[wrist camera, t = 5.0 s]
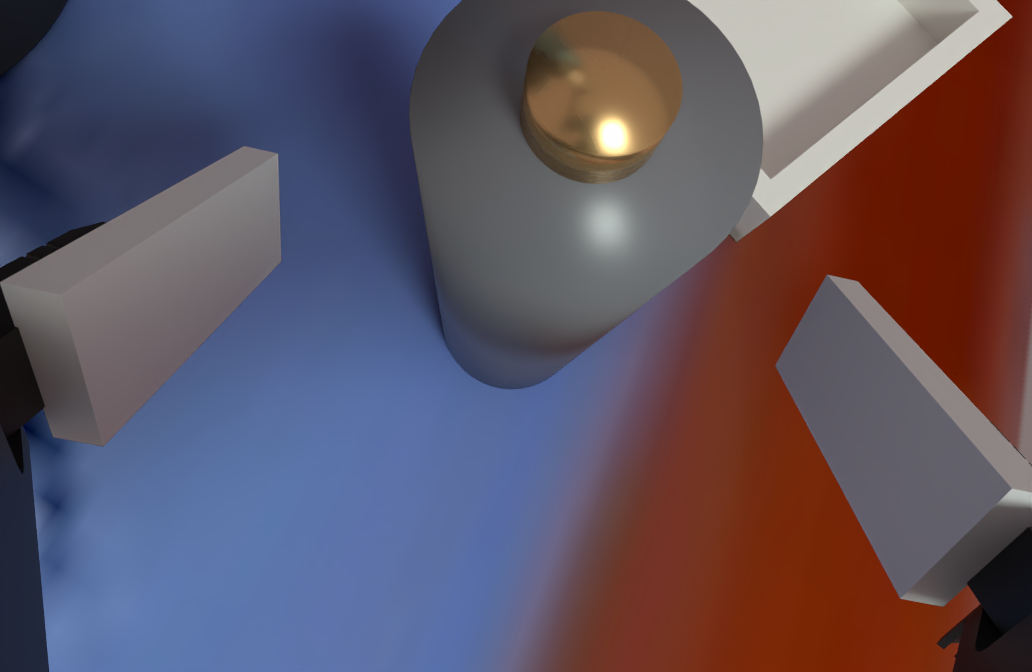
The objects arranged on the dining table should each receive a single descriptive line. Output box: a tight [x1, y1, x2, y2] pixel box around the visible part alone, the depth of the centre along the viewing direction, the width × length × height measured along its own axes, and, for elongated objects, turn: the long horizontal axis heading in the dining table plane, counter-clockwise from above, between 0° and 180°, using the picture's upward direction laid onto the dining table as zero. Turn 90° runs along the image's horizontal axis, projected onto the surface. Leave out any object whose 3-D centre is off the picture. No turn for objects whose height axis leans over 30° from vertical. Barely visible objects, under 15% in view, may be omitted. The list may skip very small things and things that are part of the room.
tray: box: [688, 0, 1012, 242], centre depth 23 cm, size 14×14×2 cm
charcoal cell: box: [409, 0, 763, 389], centre depth 14 cm, size 5×5×14 cm
